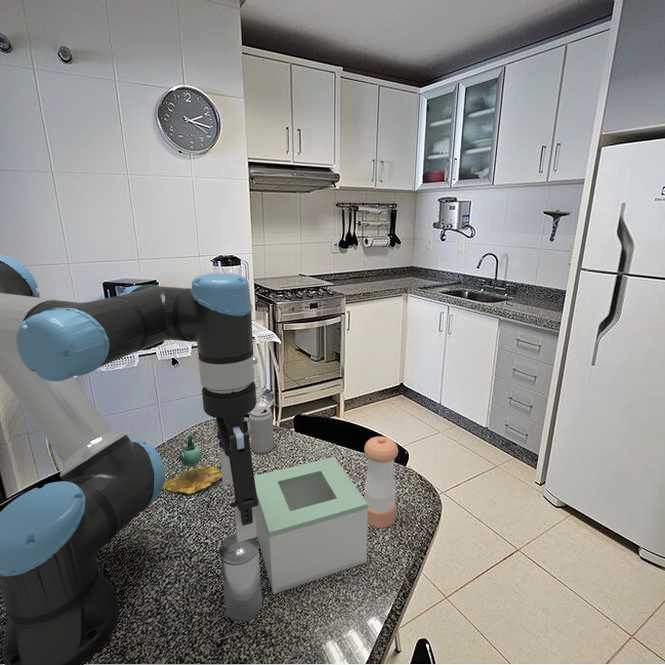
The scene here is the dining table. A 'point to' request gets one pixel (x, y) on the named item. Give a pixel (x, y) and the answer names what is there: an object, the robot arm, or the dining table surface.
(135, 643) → the dining table surface
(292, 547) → the caddy
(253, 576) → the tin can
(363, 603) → the dining table surface
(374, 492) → the pepper shaker
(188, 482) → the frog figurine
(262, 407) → the beverage can
